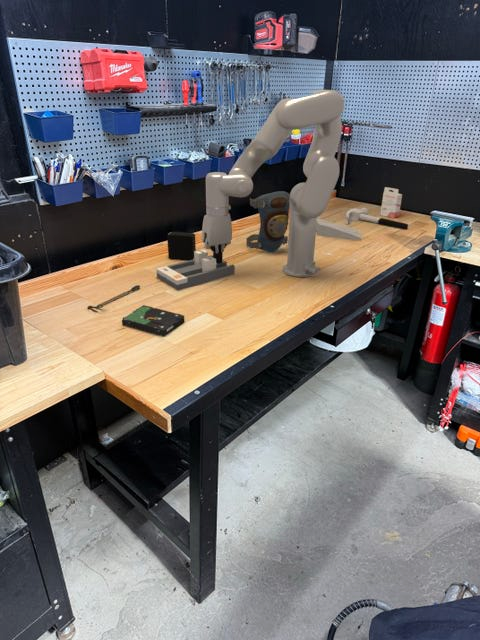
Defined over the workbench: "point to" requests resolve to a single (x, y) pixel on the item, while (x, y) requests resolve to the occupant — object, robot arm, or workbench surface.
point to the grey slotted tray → (192, 274)
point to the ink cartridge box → (391, 203)
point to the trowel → (336, 230)
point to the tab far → (200, 256)
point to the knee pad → (271, 221)
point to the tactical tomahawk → (113, 299)
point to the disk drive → (153, 320)
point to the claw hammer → (371, 218)
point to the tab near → (208, 264)
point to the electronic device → (181, 246)
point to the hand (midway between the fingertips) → (217, 262)
